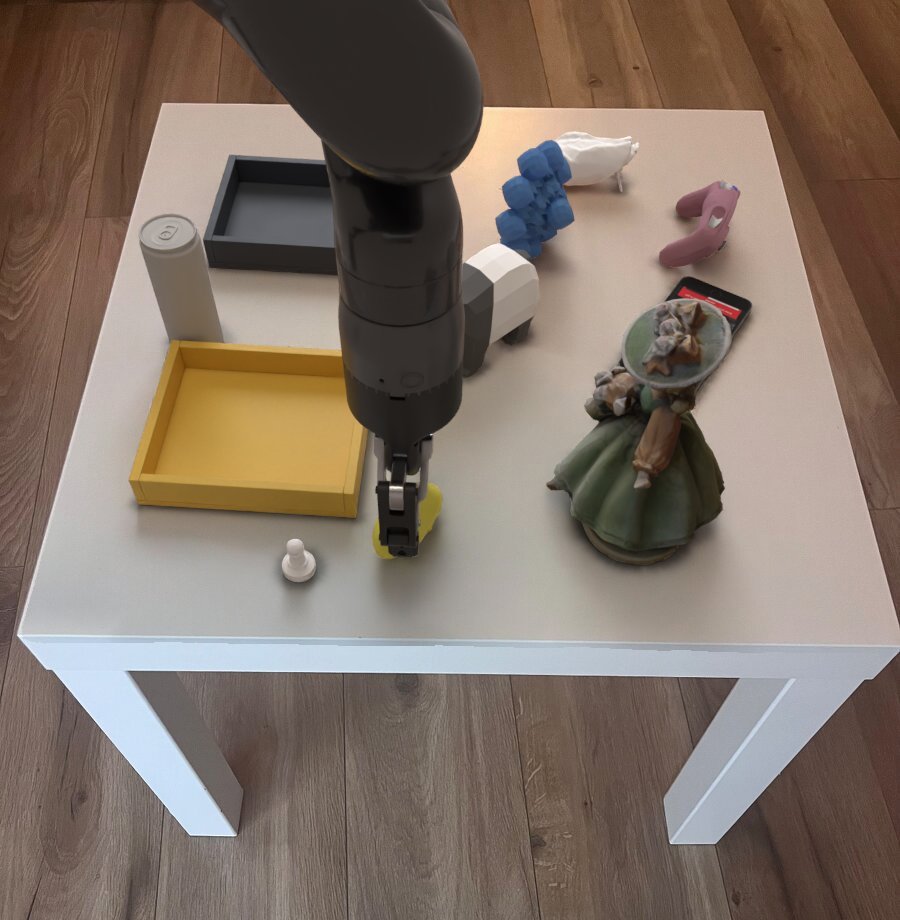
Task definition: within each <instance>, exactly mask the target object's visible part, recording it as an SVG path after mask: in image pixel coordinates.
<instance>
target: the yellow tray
mask: <svg viewBox="0 0 900 920" xmlns="http://www.w3.org/2000/svg"><path fill="white" fill-rule="evenodd" d="M158 380H159V381H158V383H157V386H156V390H155V393H154V396H153V399H152V402H151V406H150V409H149V412H148V414H147V415H148V416H147V419H146V422H145V425H144V428H143V432H142V435H141V439H140V441H139V445H138V449H137V451H136V454H135V457H134V461H133V464H132V467H131V470H130V473H129V477H128V480H127V481H128V483H129V485H130V487H131V489H132V492H133V494H134V496H135V499H136V501H137V503H138V505H144V506H160V507H176V508H192V509H209V510H225V511H240V512H256V513H271V514H273V513H274V514H288V515H290V514H291V515H302V516H303V515H305V516H321V517H339V518H351V519H352V518H354V519H355V518H357V515H358V507H359V499H360V492H361V485H362V484H361V483H362V478H363V470H364V463H365V455H366V449H367V442H368V435H369V430H368V429H366V428H365V427H364V426H362V425H361V424H360V423H359V422H358V421H357V420H356V419H355V417H354V416H353V414H352V413H351V411H350V409H349V406H348V402H347V395H346V387H345V378H344V369H343V360H342V351H341V349H328V348H327V349H326V348H325V349H324V348H311V347H296V346H294V347H293V346H279V345H278V346H277V345H263V344H262V345H261V344H247V343H246V344H245V343H231V342H230V343H228V342H223V343H214V342H197V341H180V340H172V341H171V344H170V343H169V348H168V351H167V355H166V357H165V361H164V364H163V367H162V369H161V373H160V377H159V379H158Z"/></svg>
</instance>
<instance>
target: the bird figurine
mask: <svg viewBox="0 0 900 920" xmlns="http://www.w3.org/2000/svg"><path fill="white" fill-rule="evenodd" d="M632 140H633V137H632V136H631V135H628V136H626V137H621V138H611V137H598V136H594V135H592V134H590V133H587V132H582V131H581V132H579V131H577V130H576V131H575V130H573V131H567V132H565V133H563V134H561V135H559V136H558V137H557V138H556V139H555V140H554V141H555V142H557V143H558V145H559V146H560V148H561V150H562V153H563V157H565V158H566V160H567V162H568V163H569V165H570V169H571V174H572V178H571V179H570V180H569V181H567V182H566V183H564V184H563V185H564V186H569V187H570V186H589V185H596V184H599V183H601V182H603V181H605V180H606V179H608V178H610V177H612V176H613V175H614V176H615V177H616V181H617V185H618V189H619V192H620V193H622V192H623V185H622V181H621V180H622V171H623V169H624V168H623V167H625V166H627V165H628V164H629V163H630V162H631V161H632V160H633V159H634V158H635V156H636V155H637V152H638V150H639V148H640V143H641V141H637V142H635V144H634V143H633V141H632Z"/></svg>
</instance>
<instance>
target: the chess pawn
mask: <svg viewBox="0 0 900 920" xmlns="http://www.w3.org/2000/svg"><path fill="white" fill-rule="evenodd" d="M285 545H286V546H285V548H286V553H287V554H286V555H285V556H284V557H283V559H282V561H281V569H282V573H283V575H284V577H285V578H286V579H288V580H289V581H291V582H295V583H303V582H306V581H308V580H310V579H311V578H312V577H313V576H314V575H315V573H316V571H317V562H316V559H315V557H314V556H313V554H312V553H311V552H309V551H308V550H305V547H304V543H303V542H302V541H301V539H297V538H292V539H290V540H288V541H287V543H286V544H285Z"/></svg>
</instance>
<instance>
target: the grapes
mask: <svg viewBox="0 0 900 920" xmlns="http://www.w3.org/2000/svg"><path fill="white" fill-rule="evenodd" d="M516 163H517V168H518V171H519V174H520V175H515V176H512V177H511V178H510V179H508V180H507V181H506V182H504V184H502V185H501V192H502V197H503V200H504V202H505V203H506V205H507V207H508V208H507V209H506V210H504V211H502V212H500V213H499V214H498V215H497V216H496V217H495V218H494V220H495V226H496V229H497V234H498V235H499V236H500V237H499V243H500V244H503V245H505V246H506V247H508V248H510V249H512V250H514V249H520V250H524V251H527V253H528V254H529V255H530V256H531V261H532V260H534V259H535V258H538V257H539V256H540V255H541V254H542V253H544V251H543V245H542V243H547V242H548V241H550V240H551V239H553V238H554V237H555V236H557V235H558V231H560V230H563V229H565V228H567V227H568V226H570V225H571V224H573V223H574V222H575V221H576V220H575V214H574V210H573V207H572V206H571V204H570V202H569V198H568V194H567V192H566V190H565V188H564V186H563V185H564V183H566V182H567V181H569V180H570V179H571V178H572V174H571V169H570V165H569V163H568V162H567V160H566V158H565V157H563V153H562V150H561V148H560V146H559V145H558V143H557V142H555V140H553V139H550V140H549V139H548V140H544V141H542V142H541V143H540V144H538V145H537V146H536V147H531V148H529V149H527V150H525V151H524V152H523V153H522V154H520V155H519V156H518V157H517V158H516Z"/></svg>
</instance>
